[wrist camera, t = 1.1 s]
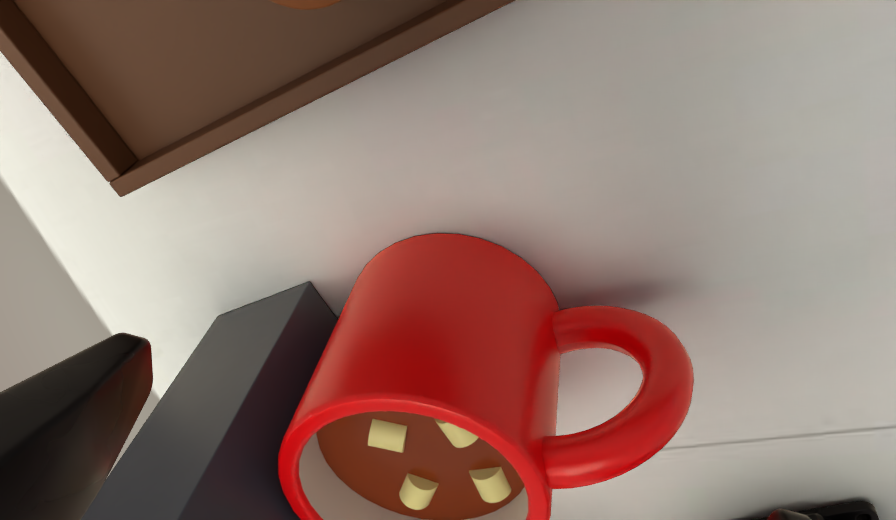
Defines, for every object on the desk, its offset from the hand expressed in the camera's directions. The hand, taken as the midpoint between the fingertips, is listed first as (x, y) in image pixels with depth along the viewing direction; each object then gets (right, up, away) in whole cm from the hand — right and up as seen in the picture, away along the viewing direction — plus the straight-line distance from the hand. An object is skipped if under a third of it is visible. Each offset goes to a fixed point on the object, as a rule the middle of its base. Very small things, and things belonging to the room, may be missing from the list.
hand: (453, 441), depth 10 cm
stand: (-6, -1, +19) cm, 20 cm away
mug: (+2, +1, +16) cm, 16 cm away
